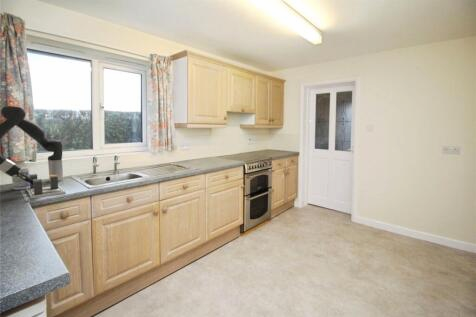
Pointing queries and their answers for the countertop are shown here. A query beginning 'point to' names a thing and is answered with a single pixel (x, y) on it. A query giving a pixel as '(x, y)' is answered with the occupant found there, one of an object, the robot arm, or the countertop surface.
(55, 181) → the breaker
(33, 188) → the grey base plate
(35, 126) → the robot arm
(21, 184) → the supplement tub
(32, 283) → the countertop surface
